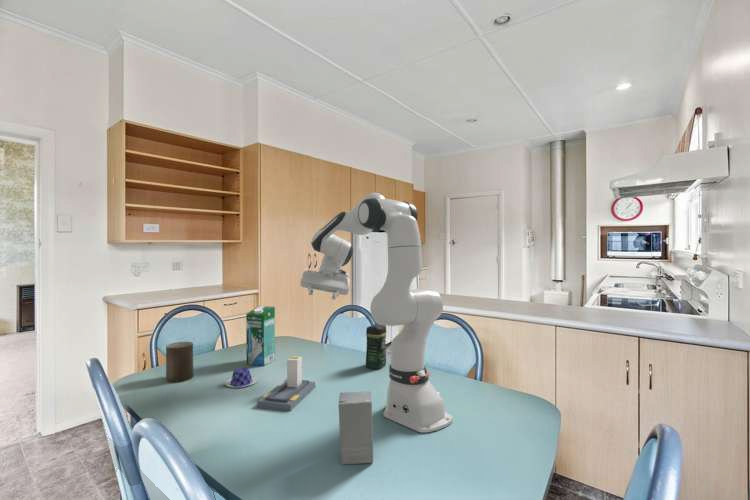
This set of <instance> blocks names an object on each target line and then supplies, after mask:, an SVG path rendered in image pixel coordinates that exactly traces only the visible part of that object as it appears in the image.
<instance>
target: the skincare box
mask: <svg viewBox="0 0 750 500" xmlns="http://www.w3.org/2000/svg"><path fill="white" fill-rule="evenodd" d="M372 405H373V402H372V392H371V390H368V391H354V392H340V393H339V398H338V427H339V453H340V454H339V455H340V465H341V466H343V465H357V464H361V465H362V464H374V439H373V437H374V435H373V406H372Z"/></svg>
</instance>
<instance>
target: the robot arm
mask: <svg viewBox="0 0 750 500" xmlns="http://www.w3.org/2000/svg"><path fill="white" fill-rule="evenodd" d="M418 215H419V213H418V210H417V207H416V206H415V205H414V204H413V203H411V202H409V201H405V200H404V201H401V200H396V199H391V198H385V196H384V195H382V194H381V193H378V192H370V193H368V194H367V195H365V196H364V197H363V198H362V199H361V200H360V201H359V202H358V203H357V205H356V206H354V208H352V209H351V210H347V211H341V212H339V213H338V214H336V216H334V217H333V218H332V219H331V220H330V221H329V222H328V223H326V224H325V225H324V226H323V227H322V228H320V229H318V231H317V232H315V233H314V235H313V236H312V238H311V241H310V242H311V243H310V244H311V246H312V248H313V251H315V252H317V253H320V254H324V255H323V257H322V259H321V264H320V266H319V268H318V271H315V270H314V271H313V270H310V269H308V270H304V271H303V272H302V277H301V279H300V286H301V287H302V288H305V289H307V291H308V295H309V296H313V294H314V290H315V291H316V290H317V291H321V292H327V293H332V295H331V300H336V298H337V297H338V296H340V295H343V296H348V295H349V291H350V284H351V283H350V278H349V272H347V271H346V270H344V269H341V268H342V267H345V266H346V265H348V264H349V262H350V261H351V259H352V256H353V252H354V247H353V244H352V243H351V242H349V241H348V240H347V239H343V238H341V237H340V236H337V235H336V234H335V233H336V232H338V231H340V232H341V231H342V232H347V233H351V234H354V235H358V236H365V235H369V234H370V233H372V231H375V232H380V231H384V232H385V234H386V235H387V236H386V237H387V273H386V278H385V281H384V284H383V286H381V287H382V288H380V290H379V292H378V293H376V295H374V297H373V298H372V299H371V303H370V309H369V310H370V314H371V318H372V319H373V321H374V322H375V324H376V323H377V324H379V325H385V326H386V327H387V326H389V327H395V326H402V327H401V328H402V329H401V330H400V332H399V333H398V334H396V336H394V337H393V339H392V340H391V344H390V364H389V367H388V373H389V374H388V376H389V378H390V380H389V384H388V387H387V392H386V405H385V410H384V411H383V417H384V418H386V419H388V420H391V421H393V422H395V423H398V424H399V425H402V426H404V427H406V428H409V429H411V430H413V431H415V432H418V433H424V434H425V433H431V432H435V431H439V430H441V429H443V428H446V427H448V426H450V424H451V423H453V420H454V418H453V415H451V414H450V413H449V412H447V411H446V409H445V408H446V407H445V402H444V398H443V397H442V395H441V393H440V392H439V391H437V390H436V388H435V386H434V385H433V384H432V382H430V380H429V379H430V378H429V377H431V376H432V375H431V374H432V373H431V372H428V370H427V367H426V365H425V359H426V356H425V355H426V343H427V339H428V335H429V333H430V331H431V328H432V326H433V324H434V323H435V322H436V320H437V319H438V318H439V317H440V316H441V315H442V313H443V309H444V301H443V299H442V297H441V295H440V293H439V292H437V291H436V290H432V289H427V288H417V289H416V288H415V289H411V284H412V282H413V281H414V279H415V278H417V277H418V276H419V275H420V274H421V272H422V270H423V255H422V241H421V233H420V228H419V224H418V218H419V217H418Z"/></svg>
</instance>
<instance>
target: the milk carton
mask: <svg viewBox="0 0 750 500" xmlns="http://www.w3.org/2000/svg"><path fill="white" fill-rule="evenodd" d="M275 310H276V308H275V306H267V305H266V306H265V305H264V306H263V305H257V306H256V307H255V308H252V309H251V310H250V311H249V312H247V313H246V318H245V320H246V325H245V326H246V327H245V328H246V329H245V330H246V333H245V334H246V335H245V336H246V337H245V338H246V339H245V340H246V345H245V346H246V365H251V366H260V367H265V366H266V365H268V364H270V363H272V362H274V361H275V360H276V346H275V345H276V338H275V337H276V336H275V335H276V331H275V330H276V324H275V323H276V321H275V320H276V319H275V318H276V314H275V313H276V311H275Z"/></svg>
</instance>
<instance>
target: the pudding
mask: <svg viewBox="0 0 750 500" xmlns="http://www.w3.org/2000/svg"><path fill="white" fill-rule="evenodd" d="M251 374H252V373H251V370H250V369H249V368H247V367H239V368H237V369H234V370H233V373H232V376H231V378H229V379H228V380H226V381H225V382H224V385H225V386H226V387H228V388H237V389H238V387H241V388H245V387H248V386H252V385H254V384H255V383H257V382H258V378H257V377H256V376H253V375H251Z"/></svg>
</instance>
